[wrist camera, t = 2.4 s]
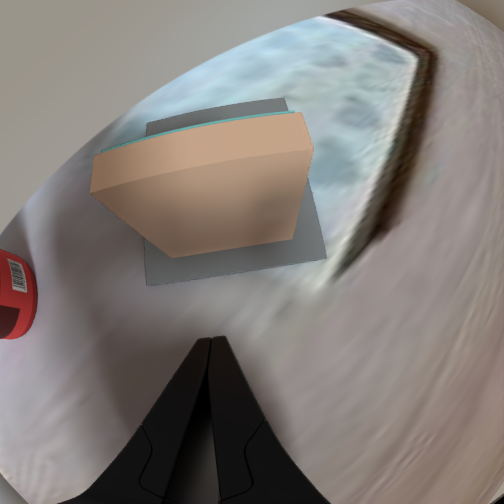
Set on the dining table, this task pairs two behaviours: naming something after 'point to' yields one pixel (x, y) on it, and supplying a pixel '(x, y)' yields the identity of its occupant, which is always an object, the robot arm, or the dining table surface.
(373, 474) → the dining table surface
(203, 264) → the mat
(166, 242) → the tile
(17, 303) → the canned food
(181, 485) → the robot arm
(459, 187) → the dining table surface
